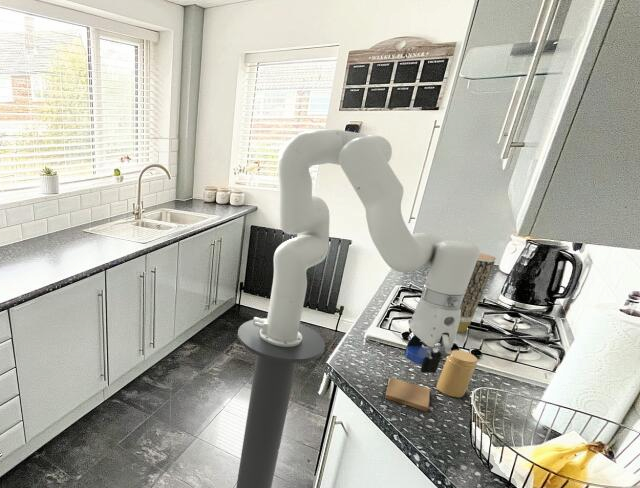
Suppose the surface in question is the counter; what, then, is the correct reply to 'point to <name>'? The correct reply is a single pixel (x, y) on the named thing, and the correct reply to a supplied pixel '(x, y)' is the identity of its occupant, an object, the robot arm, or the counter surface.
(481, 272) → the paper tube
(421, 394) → the block
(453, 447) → the counter surface
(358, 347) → the counter surface
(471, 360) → the jar
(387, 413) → the counter surface
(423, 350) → the jar lid
